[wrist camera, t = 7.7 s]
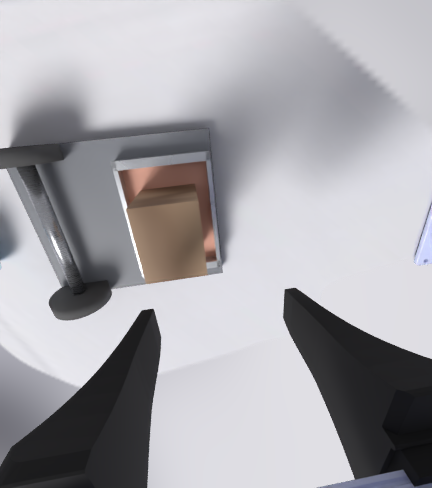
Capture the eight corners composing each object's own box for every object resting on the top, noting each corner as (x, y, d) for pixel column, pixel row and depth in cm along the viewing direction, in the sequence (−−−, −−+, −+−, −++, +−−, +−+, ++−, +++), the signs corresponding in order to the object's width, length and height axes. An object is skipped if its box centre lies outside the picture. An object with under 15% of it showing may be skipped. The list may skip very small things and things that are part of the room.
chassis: (207, 128, 17) (214, 126, 13) (221, 267, 22) (229, 295, 18) (4, 149, 16) (-54, 154, 12) (68, 289, 21) (42, 324, 17)
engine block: (194, 183, 18) (198, 200, 13) (202, 243, 20) (207, 275, 15) (141, 190, 17) (125, 209, 13) (154, 249, 19) (146, 284, 15)
